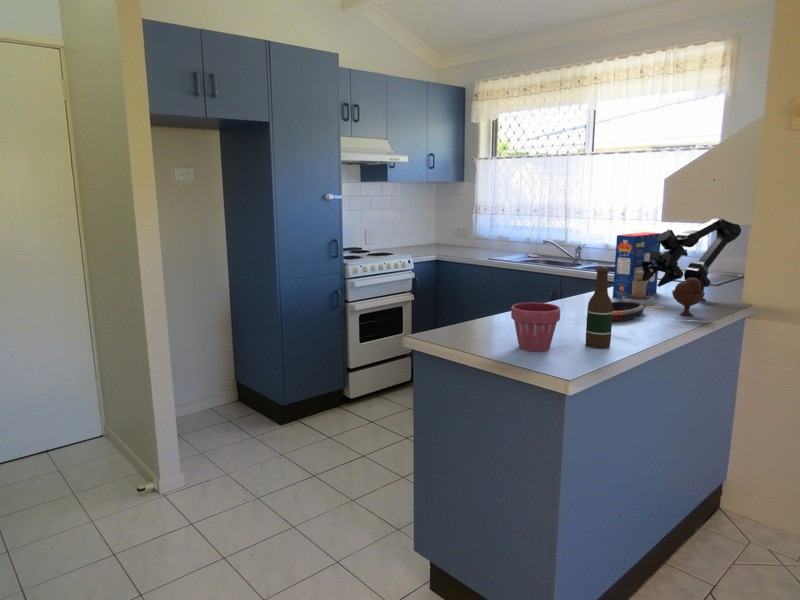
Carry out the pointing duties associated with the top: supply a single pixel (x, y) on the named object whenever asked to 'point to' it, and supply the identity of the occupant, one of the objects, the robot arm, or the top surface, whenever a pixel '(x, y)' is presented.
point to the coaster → (654, 308)
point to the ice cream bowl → (688, 294)
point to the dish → (626, 310)
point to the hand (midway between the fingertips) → (649, 284)
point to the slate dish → (647, 300)
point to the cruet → (638, 287)
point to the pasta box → (634, 261)
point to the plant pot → (535, 324)
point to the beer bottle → (599, 313)
